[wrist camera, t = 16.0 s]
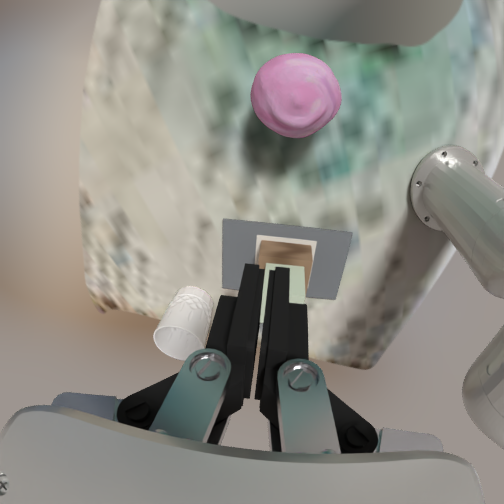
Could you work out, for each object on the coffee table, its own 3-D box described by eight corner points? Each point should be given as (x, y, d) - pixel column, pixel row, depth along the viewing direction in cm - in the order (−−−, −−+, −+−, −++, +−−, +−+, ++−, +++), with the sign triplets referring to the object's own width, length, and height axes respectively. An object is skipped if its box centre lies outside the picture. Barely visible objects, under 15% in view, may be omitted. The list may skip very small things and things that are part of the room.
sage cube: (304, 266, 41) (305, 296, 36) (299, 295, 43) (299, 326, 38) (266, 262, 41) (262, 292, 36) (263, 292, 44) (259, 322, 39)
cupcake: (287, 139, 36) (287, 161, 28) (241, 86, 33) (226, 90, 25) (346, 99, 33) (365, 107, 24) (300, 42, 30) (305, 31, 21)
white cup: (222, 315, 53) (211, 360, 45) (181, 318, 55) (165, 361, 47) (208, 279, 49) (192, 324, 41) (165, 284, 51) (144, 326, 43)
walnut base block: (311, 245, 43) (312, 261, 40) (303, 284, 47) (304, 301, 44) (261, 240, 44) (258, 255, 41) (258, 279, 48) (255, 296, 44)
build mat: (352, 232, 42) (352, 234, 42) (335, 297, 49) (335, 299, 48) (223, 218, 43) (222, 220, 43) (223, 286, 50) (222, 288, 49)
